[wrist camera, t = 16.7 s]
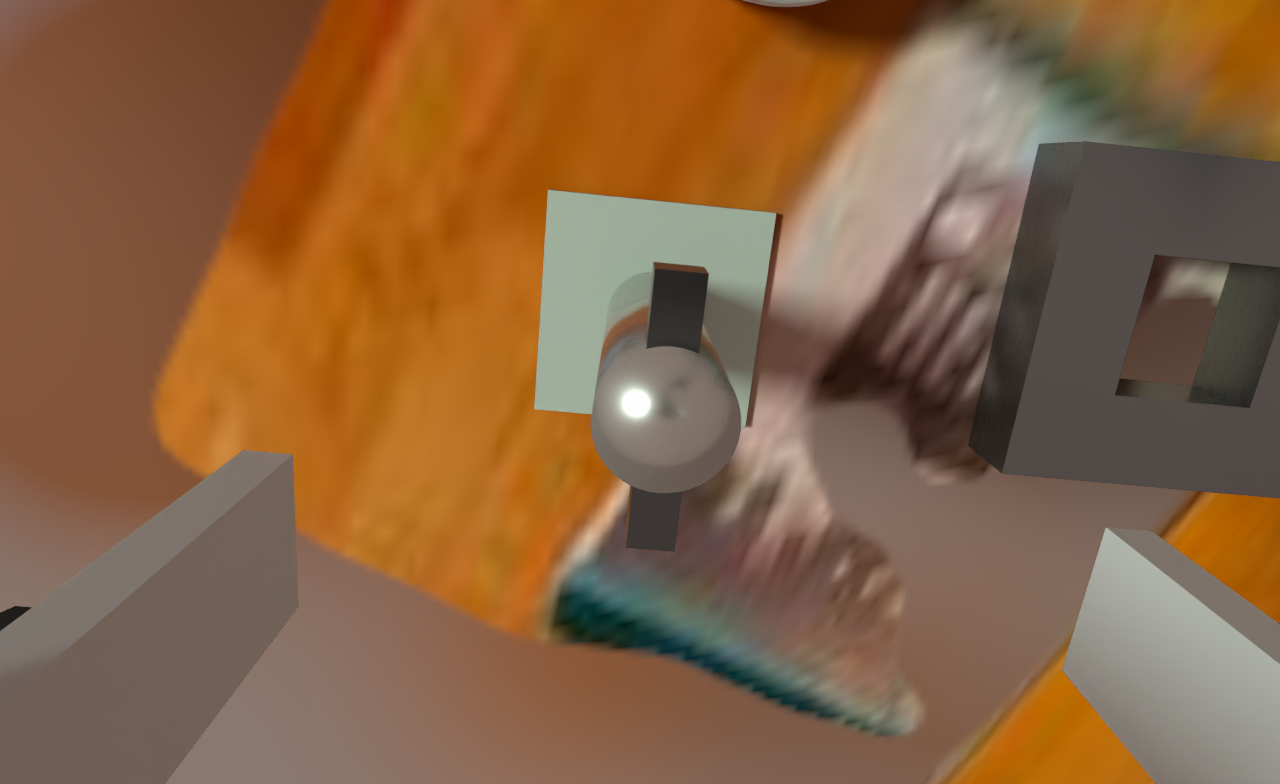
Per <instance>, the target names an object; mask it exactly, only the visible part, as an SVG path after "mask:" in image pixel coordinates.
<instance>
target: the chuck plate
mask: <svg viewBox="0 0 1280 784" xmlns="http://www.w3.org/2000/svg"><path fill="white" fill-rule="evenodd" d="M1155 255H1163V256H1173V257H1183V258H1193V259H1203V260H1213V261H1222V262H1231V266H1230V269H1229V272H1228V275H1227V278H1226V281H1225V285H1224V288H1223V291H1222V294H1221V297H1220V300H1219V304H1218V307H1217V310H1216V313H1215V316H1214V319H1213V323H1212V326H1211V329H1210V332H1209V335H1208V338H1207V342H1206V345H1205V348H1204V351H1203V354H1202V357H1201V360H1200V364H1199V367H1198V370H1197V373H1196V376H1195V379H1194V383H1193V386H1191V385H1180V384H1170V383H1159V382H1149V381H1137V380H1128V379H1120V375H1121V372H1122V368H1123V364H1124V361H1125V358H1126V354H1127V351H1128V347H1129V344H1130V340H1131V337H1132V333H1133V330H1134V326H1135V323H1136V319H1137V316H1138V312H1139V309H1140V305H1141V302H1142V298H1143V295H1144V291H1145V288H1146V284H1147V281H1148V278H1149V274H1150V271H1151V267H1152V264H1153V260H1154V257H1155ZM968 446H969V447H971V448H972V449H973V450H974V451H975V452H977V453H978V454H979V455H980V456H981V457H983V458H984V459H985V460H986V461H987V462H989V463H990V464H991V465H992V466H993V467H995V468H996V469H997V470H998V471H999V472H1001V473H1002V474H1013V475H1024V476H1035V477H1046V478H1058V479H1069V480H1081V481H1092V482H1102V483H1103V482H1104V483H1114V484H1126V485H1136V486H1137V485H1138V486H1148V487H1159V488H1170V489H1181V490H1192V491H1203V492H1214V493H1226V494H1237V495H1248V496H1259V497H1271V498H1280V162H1273V161H1264V160H1255V159H1245V158H1236V157H1227V156H1217V155H1208V154H1198V153H1189V152H1180V151H1170V150H1161V149H1151V148H1142V147H1133V146H1123V145H1114V144H1105V143H1095V142H1086V141H1084V142H1065V143H1047V144H1039V147H1038V151H1037V155H1036V159H1035V164H1034V168H1033V172H1032V176H1031V181H1030V185H1029V189H1028V194H1027V198H1026V202H1025V206H1024V211H1023V215H1022V219H1021V223H1020V228H1019V232H1018V236H1017V240H1016V245H1015V249H1014V253H1013V257H1012V262H1011V266H1010V270H1009V274H1008V279H1007V283H1006V287H1005V291H1004V296H1003V300H1002V304H1001V308H1000V313H999V317H998V321H997V325H996V330H995V334H994V338H993V342H992V347H991V351H990V355H989V360H988V364H987V368H986V372H985V377H984V381H983V385H982V389H981V394H980V398H979V402H978V406H977V411H976V415H975V419H974V423H973V428H972V432H971V436H970V440H969V445H968Z"/></svg>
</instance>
